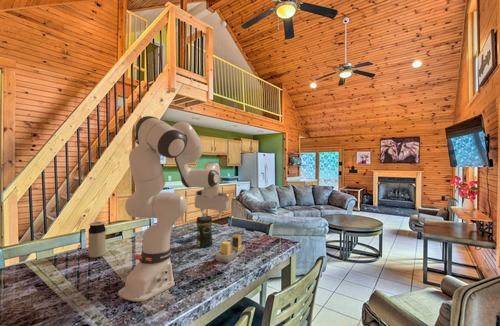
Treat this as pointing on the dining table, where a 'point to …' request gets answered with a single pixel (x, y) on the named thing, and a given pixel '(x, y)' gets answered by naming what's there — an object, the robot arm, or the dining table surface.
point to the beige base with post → (235, 250)
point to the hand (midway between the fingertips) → (211, 217)
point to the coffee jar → (204, 231)
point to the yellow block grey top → (225, 247)
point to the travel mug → (97, 239)
